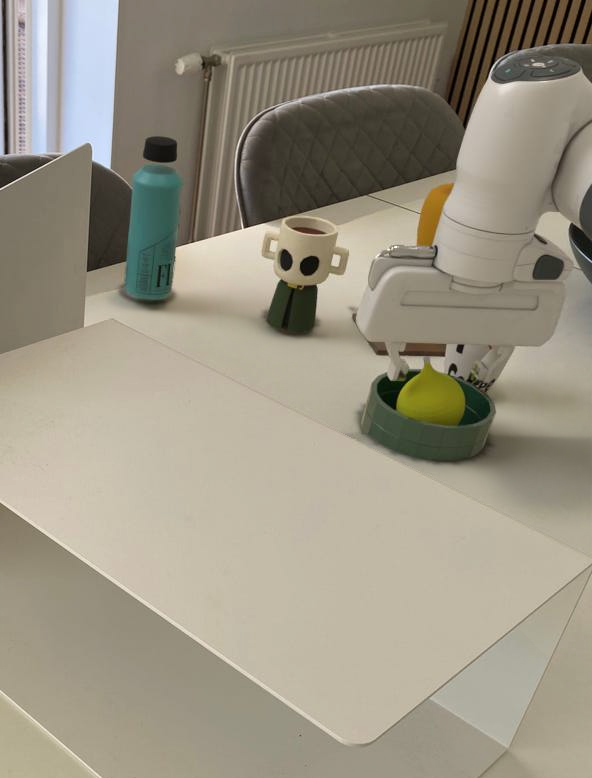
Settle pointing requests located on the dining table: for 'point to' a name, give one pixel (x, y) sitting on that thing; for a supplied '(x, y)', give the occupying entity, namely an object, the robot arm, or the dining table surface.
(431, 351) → the coaster
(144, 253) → the beverage bottle
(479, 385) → the cup
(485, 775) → the dining table surface
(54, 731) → the dining table surface
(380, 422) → the pot
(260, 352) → the dining table surface
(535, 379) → the dining table surface
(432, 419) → the green fig
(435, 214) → the orange rounded piece
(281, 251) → the character mug
